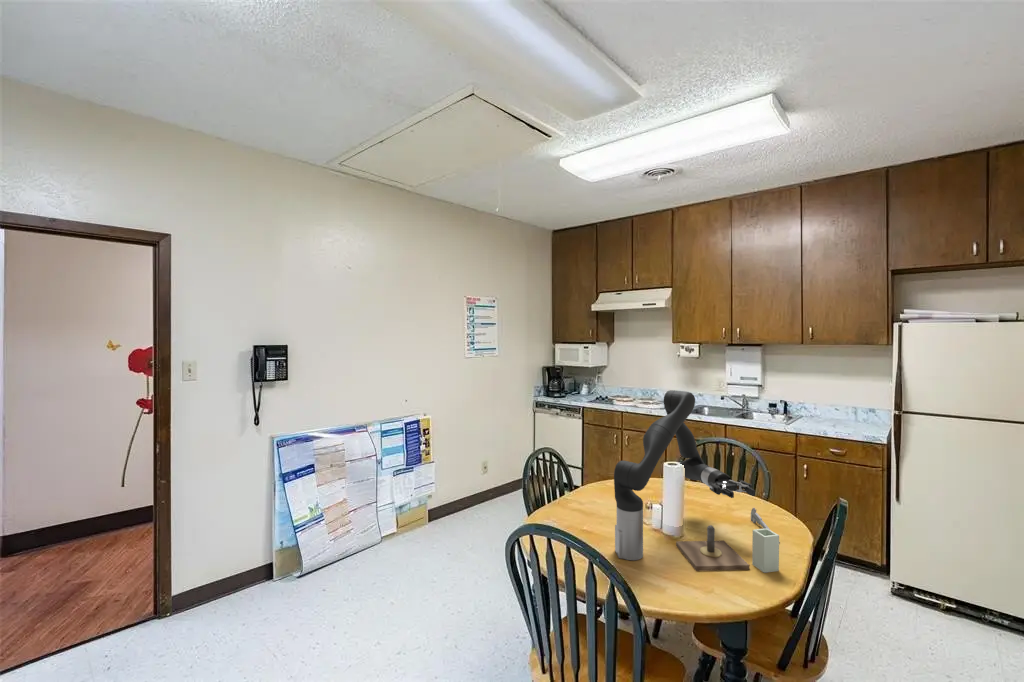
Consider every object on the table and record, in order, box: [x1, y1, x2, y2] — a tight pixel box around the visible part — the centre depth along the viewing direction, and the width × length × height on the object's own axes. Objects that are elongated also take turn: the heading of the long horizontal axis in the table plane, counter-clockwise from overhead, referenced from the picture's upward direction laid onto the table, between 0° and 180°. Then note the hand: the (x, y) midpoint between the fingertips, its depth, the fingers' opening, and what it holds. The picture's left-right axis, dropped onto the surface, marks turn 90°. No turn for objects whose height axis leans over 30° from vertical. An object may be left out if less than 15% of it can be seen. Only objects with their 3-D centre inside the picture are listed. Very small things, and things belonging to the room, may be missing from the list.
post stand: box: [675, 525, 750, 572], centre depth 167 cm, size 18×18×11 cm
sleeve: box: [751, 528, 780, 573], centre depth 159 cm, size 6×6×12 cm
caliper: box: [750, 507, 781, 544], centre depth 187 cm, size 20×1×6 cm, turn 179°
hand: (743, 494), depth 169 cm, fingers open, 8 cm apart
